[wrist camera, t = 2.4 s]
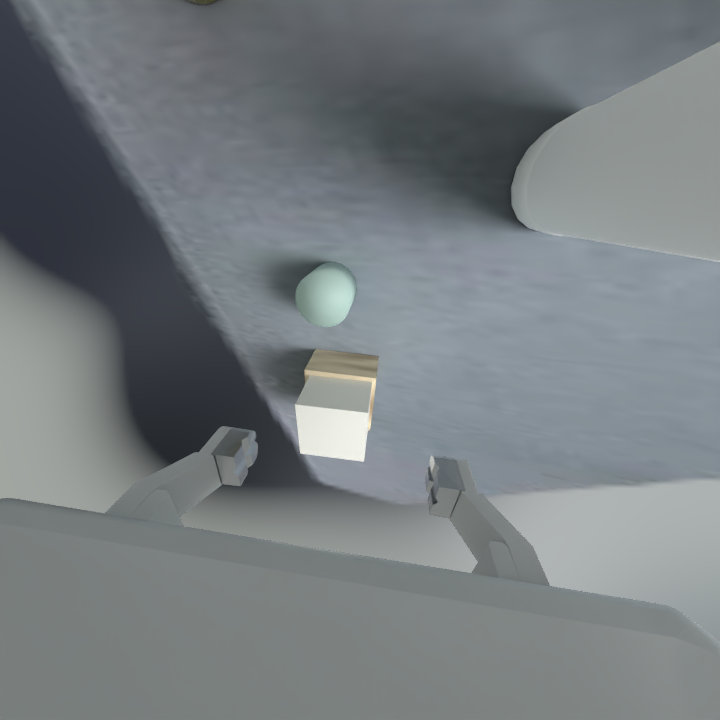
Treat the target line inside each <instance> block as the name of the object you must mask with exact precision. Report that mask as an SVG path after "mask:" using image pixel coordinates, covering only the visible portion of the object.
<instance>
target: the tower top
mask: <svg viewBox="0 0 720 720" xmlns="http://www.w3.org/2000/svg"><path fill="white" fill-rule="evenodd" d="M371 388H372V382H370V381H361V380H351V379H342V378H332V377H323V376H314V375H310V376H309V378H308V380H307V382H306V384H305V386H304V388H303V390H302V392H301V394H300V396H299V398H298V400H297V402H296V404H295V408H296V417H297V427H298V436H299V445H300V453H301V454H309V455H317V456H325V457H332V458H340V459H348V460H355V461H363V462H364V457H365V448H366V440H367V431H368V421H369V410H370V399H371Z"/></svg>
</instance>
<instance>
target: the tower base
mask: <svg viewBox="0 0 720 720" xmlns="http://www.w3.org/2000/svg"><path fill="white" fill-rule="evenodd" d="M378 357H379V356H372V355H363V354H354V353H346V352H337V351H328V350H320V349H316V350H315V351H314V353H313V355H312V357H311V359H310V360H309V362H308V364H307V366H306V368H305V370H304V371H305V384H306V382H307V380H308V378H309V376H310V375H314V376H323V377H332V378H342V379H351V380H361V381H370V382H372V388H371V399H370V410H369V421H368V430H370V426H371V418H372V409H373V401H374V393H375V385H376V376H377V367H378Z"/></svg>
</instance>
